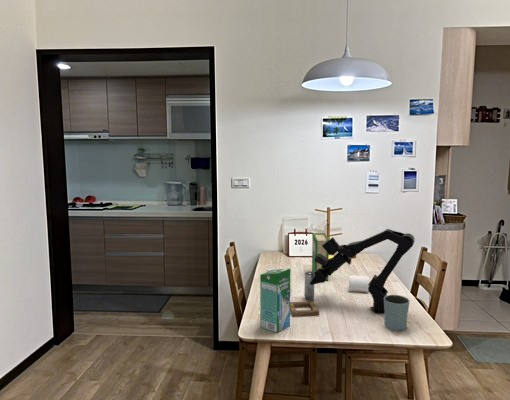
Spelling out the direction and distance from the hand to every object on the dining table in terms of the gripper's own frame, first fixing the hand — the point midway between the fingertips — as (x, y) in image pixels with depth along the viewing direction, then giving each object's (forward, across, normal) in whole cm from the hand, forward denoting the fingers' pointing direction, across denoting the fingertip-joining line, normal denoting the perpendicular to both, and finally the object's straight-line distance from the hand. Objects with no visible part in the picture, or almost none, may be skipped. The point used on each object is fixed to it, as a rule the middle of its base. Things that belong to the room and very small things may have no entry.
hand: (313, 281), depth 197 cm
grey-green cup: (-22, +15, +35) cm, 44 cm away
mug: (-6, -24, +19) cm, 31 cm away
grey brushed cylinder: (+8, 0, +6) cm, 10 cm away
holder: (+7, +15, +7) cm, 18 cm away
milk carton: (+11, +36, +3) cm, 37 cm away
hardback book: (+12, -37, +2) cm, 39 cm away
